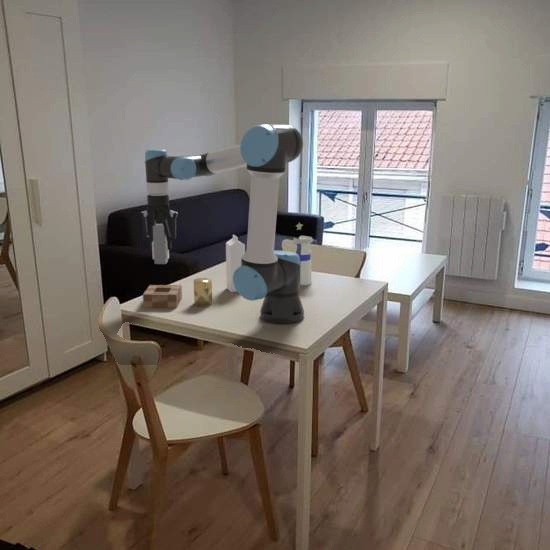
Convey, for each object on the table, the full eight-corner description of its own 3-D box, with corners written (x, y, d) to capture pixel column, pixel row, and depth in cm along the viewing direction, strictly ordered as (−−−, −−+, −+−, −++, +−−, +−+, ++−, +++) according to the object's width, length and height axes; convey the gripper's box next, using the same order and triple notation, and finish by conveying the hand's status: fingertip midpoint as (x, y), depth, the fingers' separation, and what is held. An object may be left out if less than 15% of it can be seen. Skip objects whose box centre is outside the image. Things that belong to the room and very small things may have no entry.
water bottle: (287, 283, 236) (288, 224, 229) (300, 278, 242) (301, 221, 236) (303, 286, 231) (304, 226, 224) (315, 282, 237) (317, 223, 230)
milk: (240, 286, 231) (240, 233, 225) (245, 290, 225) (245, 236, 219) (226, 288, 228) (225, 234, 223) (230, 292, 223) (230, 237, 217)
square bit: (165, 264, 204) (163, 225, 201) (154, 263, 204) (152, 225, 201) (167, 261, 208) (165, 223, 204) (156, 261, 208) (154, 223, 204)
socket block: (176, 307, 205) (176, 294, 203) (143, 307, 204) (142, 294, 203) (181, 297, 216) (181, 285, 215) (150, 297, 216) (149, 285, 215)
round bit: (211, 306, 206) (210, 282, 204) (193, 306, 206) (192, 282, 204) (213, 300, 213) (212, 277, 210) (195, 300, 213) (194, 277, 210)
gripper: (183, 192, 203) (185, 256, 209) (136, 192, 203) (139, 255, 209) (180, 195, 196) (182, 261, 202) (131, 195, 196) (135, 260, 202)
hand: (161, 258), depth 206 cm, fingers closed on square bit, 4 cm apart
